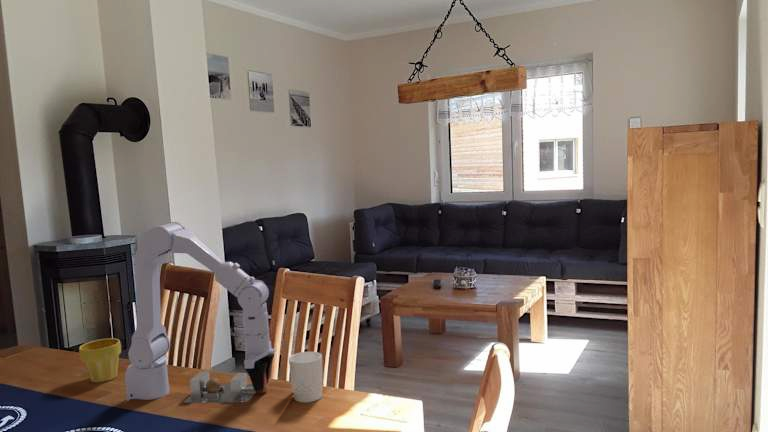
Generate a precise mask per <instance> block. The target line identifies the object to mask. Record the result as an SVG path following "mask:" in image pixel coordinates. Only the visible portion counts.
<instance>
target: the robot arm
mask: <svg viewBox="0 0 768 432" xmlns="http://www.w3.org/2000/svg"><path fill="white" fill-rule="evenodd" d="M141 238H142V240H141V242H140V244H139V246H138V248H137V249H136V252H135V254H134V263H135V265H134V266H135V267H134V268H135V293H136V295H135V297H136V316H137V317H136V318H137V319H136V320H137V323H136V324H137V326H136V329H135V330H134V332H133V334H132V336H131V344H130V348H129V350H128V353H127V354H128V359H129V361H130V364H129V365H128V366H127V368H126V370H125V373H124V383H125V395H126V402H129V401H131V400H143V401H144V400H148V401H149V400H156V399H160V398H163V397H165V396H167V395H168V394H169V393H170V384H169V383H170V382H169V374H168V373H169V371H168V363H167V353H168V352H169V350H170V348H171V342H170V338H169V337H168V335H167V328H166V326H164V324H163V323H162V313H161V312H162V310H161V282H160V281H161V279H160V277H161V276H160V275H161V274H160V261H161V260H162V259H163V258H164V257H166V255H168V254H169V253H171V254H186V255H188V256H190V257H191V258H193V259H194V260H195V261H197V262H198V263H200V264H201V265H202V266H204V267H206V269H208V270H210V271H211V272H212V273H213V275H214V281H216V282H217V283H218V284H219V285H221V286H222V287H223V288H224V289H226V290H227V291H228V292H229V293H231V294H232V295H233V296H234V297H235V298H237V303H238V305H239V306H240V307H241V308H242V314H243V316H242V318H243V328H244V329H243V330H244V342H245V343H244V344H245V353H244V355H245V359H244V361H243V363H242V365H243V369H245V371H246V373H247V375H248V376H249V378H250V381H251V384H252V385H253V388H254V390H263V389H264V378H265V370H266V382H267V385H268V384H269V379H270V370H271V367H272V366H271V365H272V362H273V359H274V358H275V352H276V349H275V348H273V347H272V341H271V340H270V328H269V314H268V306H267V302H266V301H267V300H268V298H269V297H270V296H269V295H270V291H269V288H268V286H267V285H266V283H265V282H264V281H263V280H259V279H256V278H255V277H254V276H250V275H249V274H248V273H246V272H245V271H244V270H243V269H241V268H240V267H241V265H240V264H239V263H238V262H235V263H234V262H233V261H223V260H222V259H221V258H220V257H219V256H218V255H216V253H214V252H213V251H212V250H211V249H210V248H209V247H208V246H206V245H205V244H204V243H203V242H202V241H201V240H200V239H199V238H198V237H196V235H195V234H194V233H193V231H192V230H190V229H189V228H186V227H185V225H183V224H182V223H180V222H178V221H172V222H169V223H167V224H163V225H157V226H153V227H150V228H149V229H148V230H147V231H145V232H144V233H143V234H142V237H141Z"/></svg>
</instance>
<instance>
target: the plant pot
mask: <svg viewBox="0 0 768 432" xmlns="http://www.w3.org/2000/svg"><path fill="white" fill-rule="evenodd" d="M78 350H79V351H78V352H79V358H80V361H81V362H83V364H84V366H85V369H86V371H87V374H88V377H89V381H91V382H92V383H103V382H104V383H105V382H108V381H112V380H113V379H115V378H116V377H117V376H118V371H119V370H118V369H119V358H120V354H121V353H122V344H121V341H120V339H118V338H113V337H111V338H110V337H109V338H101V339H96V340H92V341H91V340H90V341H89V342H85V343H83V344H82V345H80V346H79V348H78Z"/></svg>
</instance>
